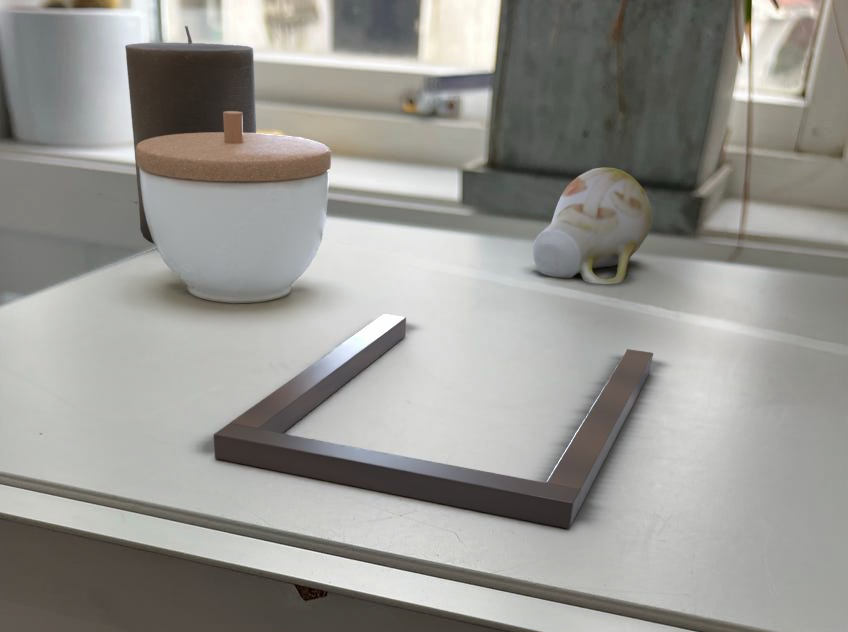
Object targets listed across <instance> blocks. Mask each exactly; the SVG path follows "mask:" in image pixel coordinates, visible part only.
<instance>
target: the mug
mask: <svg viewBox="0 0 848 632" xmlns="http://www.w3.org/2000/svg"><path fill="white" fill-rule="evenodd" d="M651 224H652V206H651V202H650V199H649V198H648V195H647V193H646V191H645V190H644V188H643V187H642V185H641V184H640V183H639V182H638V181H637V180H636V178H634V177H633V176H632V175H631V174H629V173H627V172H625V170H624V171H623V170H622V169H618V168H616V167H615V168H614V167H606V166H605V167H596V168H592V169H590V170H587V171H585V172H583V173H582V174H580V175H578V176H577V177H576V178H574V179H573V180H572V181H570V183H569V184H568V185H567V187H566V188H565V189H564V190H563V192H562V194H561V195H560V198H559V200H558V202H557V205H556V207H555V210H554V213H553V217H552V219H551V222H550V224H549V225H548V226H547V227H546V228H544V230H542V231H540V233H539V234H538V235H537V236H536V238H535V240H534V243H533V245H532V257H533V262H534V264H535V265H534V266H536V269H537V270H538V271H539V272H540V273H541V274H542V275H545V276H548V277H553V278H559V279H560V278H561V279H571V278H574V276H575V277H576V276H577V274H580V275H581V278H582V280H583V281H584V282H586V283H588V284H595V285H596V284H597V285H612V284H619V283H621V282H623V281H625V278H626V274H627V269H628V265H629V261H630V259H631V258H632V257H633V255H634V254H635V253H636V252H637V251H638V249H640V248H641V246H642V245H643V243H644V241H645V240H646V238H647V237H648V235H649V232H650V229H651ZM614 266H617V269H616V275H615V277H612V278H608V279H607V278H601V277H598V276H597V275H596V274H595V273H594V271H593V270H594V269H603V268H608V267H609V268H610V267H614Z"/></svg>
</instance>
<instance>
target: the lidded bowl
mask: <svg viewBox="0 0 848 632" xmlns="http://www.w3.org/2000/svg"><path fill="white" fill-rule="evenodd" d="M223 120H224V132H206V133H185V134H173V135H165V136H159V137H154V138H150V139H147V140H143V141H141V142H140V143H138V144H137V146H136V148H135V151H134V154H135V153H136V162H137V166H138V167H139V172H140V184H141V192H142V200H143V206H144V211H145V216H146V220H147V224H148V227H149V230H150V234H151V237H152V239H153V242H154V244H153V245H154V246H155V248H156V250H157V253H158V254H159V256H160V257H161V259H162V261H163V262H164V264H165V265H166V266H167V267H168V269H170V270H171V272H172V273H173V274H174V275H175V276H176V277H177V278H178V279H179V280H181V281H182V282H183V283H184V284H185V285H186V287H187V291H188V293H189V294H191V296H194V297H196V298H199V299H203V300H207V301H212V302H219V303H234V304H240V303H241V304H243V303H244V304H247V303H260V302H266V301H267V302H268V301H274V300H276V299H280V298H283V297H285V296H287V295H289V294H290V293H291V291H292V286H293V284H294V283H295V282H296V281H297V280H299V279H300V277H301V276H302V275H304V274H305V272H306V271H307V270H308V268H309V267H310V266H311V264H312V263H313V261H314V259H315V257H316V256H317V253H318V250H319V248H320V245H321V243H322V240H323V236H324V231H325V228H326V227H325V226H326V222H327V214H328V205H329V190H330V189H329V188H330V187H329V183H330V181H329V178H330V177H329V175H330V173H329V170H330V169H331V165H332V150H331V149H330V147H329V146H328V145H327V144H324V143H322V142H320V141H317V140H314V139H310V138H304V137H301V136H293V135H283V134H273V133H261V132H260V133H259V132H256V133H243V124H242V112H238V111H226V112H223ZM136 162H135V163H136Z"/></svg>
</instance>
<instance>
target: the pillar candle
mask: <svg viewBox="0 0 848 632" xmlns="http://www.w3.org/2000/svg"><path fill="white" fill-rule="evenodd" d="M184 28H185V32H186V36H187V42H139V43H138V42H137V43H130V44H126V45H125V46H124V47H125V48H124V49H125V57H126V59H125V60H126V70H127V78H128V79H127V80H128V81H127V83H128V93H129V104H130V115H131V117H130V118H131V128H132V136H133V148H134V149H133V150H134V160H135V173H136V174H135V175H136V186H137V195H138V210H139V211H138V212H139V227H140V228H139V230H140V232H141V235H142V237H143V238H144V239H145V240H146V241H148V243H150V244H152V245H155V244H154V242H153V239H152V237H151V234H150V230H149V227H148V224H147V220H146V216H145V211H144V206H143V200H142V192H141V184H140V172H139V167H138V166H137V162H136V153H135V148H136V146H137V144H138V143H140V142H141V141H143V140H147V139H150V138H154V137H159V136H165V135H173V134H185V133H206V132H224V120H223V112H226V111H238V112H242V124H243V133H257V120H256V119H257V118H256V116H257V115H256V90H255V85H256V84H255V63H254V48H253V47H252V46H248V45H240V44H239V45H238V44H236V45H235V44H222V43H205V42H204V43H203V42H201V43H199V42H195V43H194V42H193V40H192V36H191V34H190V30H189V27H188V26H187V25H184Z"/></svg>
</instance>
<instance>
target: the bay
mask: <svg viewBox="0 0 848 632" xmlns="http://www.w3.org/2000/svg"><path fill="white" fill-rule="evenodd" d="M406 330H407V316H401V315H392V314H386V313H384V314H382V315H381V316H379V317H378V318H376V319H375V320H374V321H372V322H371V323H369V324H368V325H366V326H365V327H363V328H361V330H359V331H357V332H356V333H355V334H354V335H351V337H349V338H348V339H346V340H345V341H343V342H342V343H341V344H339V345H338V346H337V347H334V349H333V350H331V351H330V352H327V354H325V355H324V356H322V357H321V358H319V359H318V360H317V361H315V362H314V363H312V364H311V365H309V366H308V367H307V368H305V369H304V370H303V371H301V372H300V373H298V374H297V375H296V376H294V377H292V378H291V379H289V380H288V381H287V382H286V383H284V384H283V385H281V386H279V387H278V388H277V389H276V390H274V391H273V392H271V393H270V394H268V395H267V396H265V397H264V398H263V399H261V400H260V401H259V402H257V403H256V404H255V405H253V406H251V407H250V408H249V409H247V410H246V411H245V412H243V413H242V414H240V415H238V417H236V418H234V419H233V420H231V421H229V423H228V424H226V425H225V426H223V427H222V428H221V429H219V430H218V431H216V432H215V433H214V434H213V448H214V449H213V450H214V458H215V459H216V460H221V461H225V462H226V461H227V462H231V463H235V464H236V463H237V464H241V465H246V466H252V467H256V468H261V469H265V470H266V469H267V470H272V471H277V472H281V473H286V474H291V475H296V476H301V477H307V478H312V479H317V480H322V481H326V482H330V483H331V482H332V483H336V484H341V485H346V486H351V487H357V488H361V489H366V490H371V491H377V492H382V493H387V494H392V495H395V496H396V495H397V496H402V497H407V498H412V499H416V500H423V501H426V502H432V503H437V504H442V505H447V506H451V507H458V508H461V509H467V510H471V511H472V510H473V511H476V512H483V513H487V514H492V515H498V516H502V517H508V518H512V519H517V520H523V521H527V522H532V523H538V524H543V525H547V526H552V527H557V528H561V529H566V530H567V529H568V530H569V529H570V528H571V526H572V525H573V522H574V521H575V519H576V517H577V514H578V513H579V511H580V509H581V507H582V505H583V503H584V502H585V499H586V497H587V496H588V493H589V491H590V489H591V487H592V485H593V483H594V481H595V480H596V477H597V476H598V475H599V472H600V470H601V468H602V466H603V464H604V463H605V460H606V458H607V457H608V455H609V453H610V450H611V449H612V447H613V445H614V443H615V441H616V439H617V437H618V435H619V433H620V431H621V429H622V427H623V425H624V424H625V421H626V419H627V417H628V415H629V414H630V412H631V409H632V408H633V406H634V404H635V402H636V400H637V398H638V395H639V394H640V392H641V390H642V388H643V386H644V385H645V382H646V380H647V378H648V376H649V375H650V373H651V367H652V363H653V356H654V353H653V352H651V351H644V350H638V349H631V348H628V349H626V350H625V352H624V354H623V356H622V357H621V358H620V360H619V362H618V364H617V365H616V367H615V369H614V370H613V372H612V374H611V375H610V376H609V379H608V380H607V381H606V383H605V385H604V386H603V388H602V390H601V392H600V393H599V395H598V397H597V398H596V400H595V401H594V403H593V405H592V406H591V408H590V410H589V411H588V413H587V414H586V416H585V418H583V421H582V422H581V424H580V426H579V427H578V430H577V431H576V432H575V434H574V435H573V438H572V439H571V441H570V442H569V444H568V445H567V448H566V449H565V451H564V452H563V454H562V456H561V457H560V459H559V460H558V462H557V463H556V465H555V467H554V469H553V470H552V471H551V474H550V475H549V477H548V478H547V480H546V482H545V481H538V480H533V479H529V478H522V477H517V476H513V475H512V476H511V475H507V474H501V473H495V472H490V471H484V470H479V469H474V468H469V467H464V466H459V465H454V464H448V463H443V462H437V461H432V460H427V459H420V458H416V457H411V456H405V455H400V454H394V453H388V452H383V451H378V450H372V449H368V448H367V449H366V448H361V447H357V446H351V445H346V444H341V443H335V442H331V441H324V440H319V439H314V438H308V437H304V436H298V435H292V434H288V433H285V432H286V431H288V430H289V429H290V428H291V427H293V426H294V425H295V424H297V423H298V422H299V421H300V420H301V419H303V418H304V417H305V416H306V415H308V414H309V413H310V412H311V411H312V410H313V411H314V409H315V408H316V407H318V406H319V405H320V404H321V403H323V402H324V401H326V400H327V399H328V398H329V397H330V396H332V395H333V394H334V393H336V392H337V391H338V390H339V389H341V388H342V387H343V386H344V385H346V384H347V383H348V382H349V381H351V380H352V379H353V378H354V377H356V376H357V375H358V374H359V373H361V372H362V371H364V370H365V369H366V368H367V367H369V366H370V365H371V364H372V363H374V362H375V361H376V360H377V359H379V358H380V357H381V356H382V355H384V353H386V352H387V351H389V350H390V349H392V348H393V347H394V346H395V345H396V344H398V343H399V342H400V341H401V340H402V339H404V338H405V337H406V332H407V331H406Z"/></svg>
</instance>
